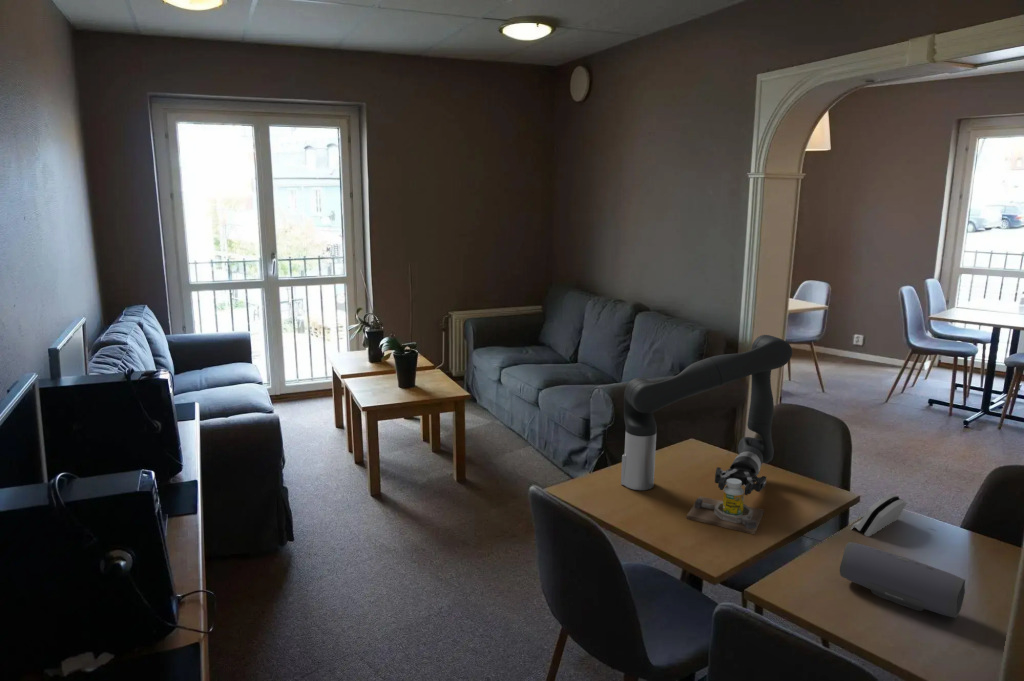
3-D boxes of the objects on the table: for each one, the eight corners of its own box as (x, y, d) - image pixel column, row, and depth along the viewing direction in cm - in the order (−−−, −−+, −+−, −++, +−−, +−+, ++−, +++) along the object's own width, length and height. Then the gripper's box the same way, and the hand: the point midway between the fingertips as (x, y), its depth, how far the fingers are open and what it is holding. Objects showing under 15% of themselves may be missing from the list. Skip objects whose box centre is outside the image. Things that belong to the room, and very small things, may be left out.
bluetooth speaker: (962, 612, 147) (968, 570, 145) (952, 631, 140) (959, 587, 138) (850, 572, 162) (855, 533, 160) (836, 587, 155) (841, 548, 153)
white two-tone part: (879, 512, 192) (895, 485, 188) (894, 523, 189) (912, 496, 185) (849, 529, 182) (866, 501, 178) (865, 541, 179) (882, 513, 175)
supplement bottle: (742, 510, 190) (744, 478, 189) (743, 518, 185) (745, 485, 184) (722, 508, 192) (724, 476, 190) (722, 516, 187) (724, 483, 185)
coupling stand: (686, 518, 188) (687, 509, 187) (699, 499, 200) (700, 490, 199) (754, 534, 180) (755, 524, 179) (763, 513, 191) (764, 504, 191)
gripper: (721, 451, 202) (707, 471, 187) (772, 460, 195) (762, 481, 180) (719, 474, 203) (705, 496, 189) (770, 485, 196) (760, 508, 182)
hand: (733, 489), depth 185 cm, fingers open, 6 cm apart
